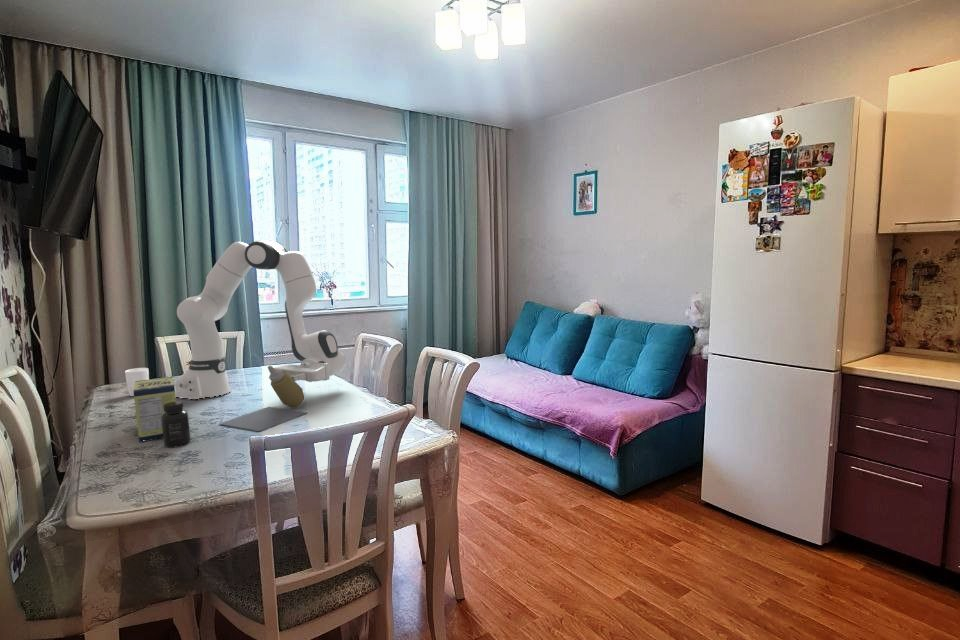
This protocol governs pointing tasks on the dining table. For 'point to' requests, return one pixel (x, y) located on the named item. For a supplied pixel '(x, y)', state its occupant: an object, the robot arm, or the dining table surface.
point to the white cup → (135, 377)
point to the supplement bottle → (175, 425)
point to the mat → (263, 419)
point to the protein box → (152, 405)
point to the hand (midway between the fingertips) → (283, 377)
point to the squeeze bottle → (286, 388)
